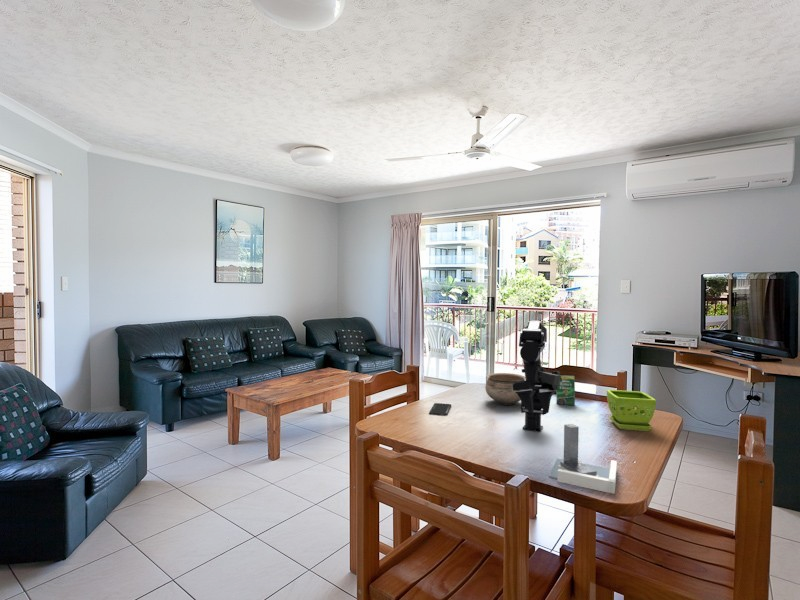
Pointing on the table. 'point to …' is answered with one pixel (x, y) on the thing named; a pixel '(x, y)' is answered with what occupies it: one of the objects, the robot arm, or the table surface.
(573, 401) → the coffee box
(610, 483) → the walls
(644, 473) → the table surface
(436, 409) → the phone
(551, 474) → the mat
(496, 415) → the table surface
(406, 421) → the table surface
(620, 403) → the flower pot
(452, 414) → the table surface
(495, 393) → the cooking pot
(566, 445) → the bracket
